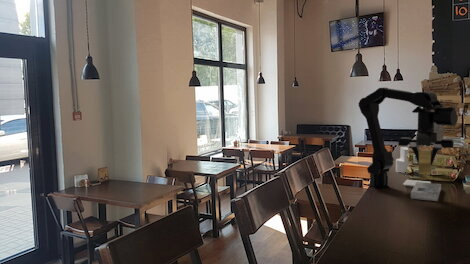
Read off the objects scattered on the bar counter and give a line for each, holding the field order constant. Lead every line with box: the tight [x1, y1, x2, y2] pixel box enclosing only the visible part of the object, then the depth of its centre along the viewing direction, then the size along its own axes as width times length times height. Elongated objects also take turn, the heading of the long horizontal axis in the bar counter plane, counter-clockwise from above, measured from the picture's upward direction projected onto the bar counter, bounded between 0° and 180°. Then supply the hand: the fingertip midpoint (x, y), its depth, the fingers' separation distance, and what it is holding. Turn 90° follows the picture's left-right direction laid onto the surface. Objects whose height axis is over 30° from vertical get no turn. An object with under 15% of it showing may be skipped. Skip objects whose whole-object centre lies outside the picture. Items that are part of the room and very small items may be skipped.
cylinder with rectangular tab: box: [395, 146, 409, 174], centre depth 188 cm, size 9×9×12 cm
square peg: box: [418, 149, 432, 176], centre depth 144 cm, size 4×4×9 cm
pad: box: [402, 179, 432, 187], centre depth 162 cm, size 10×10×1 cm
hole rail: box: [410, 182, 442, 202], centre depth 147 cm, size 18×9×2 cm, turn 147°
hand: (425, 164), depth 144 cm, fingers closed on square peg, 4 cm apart
